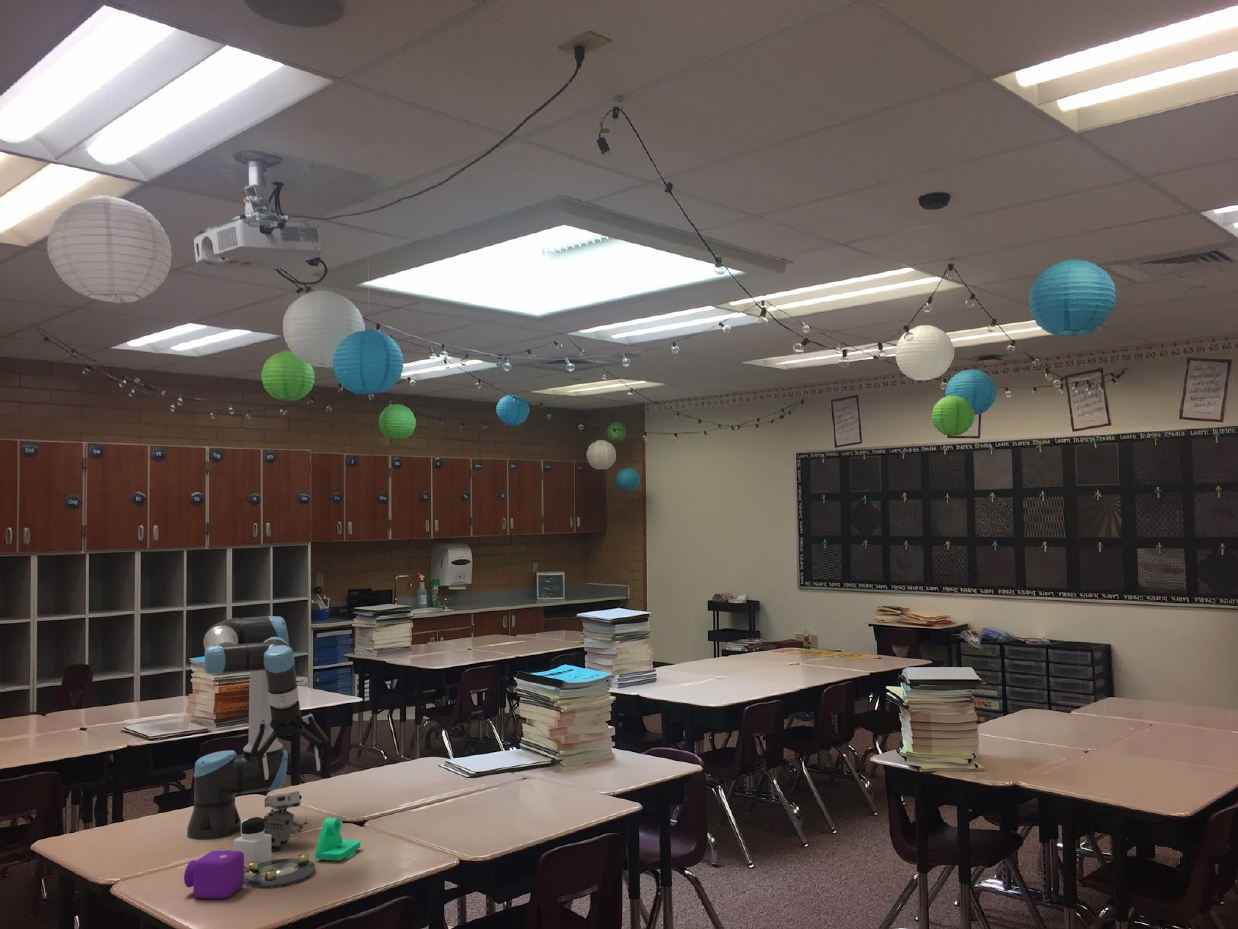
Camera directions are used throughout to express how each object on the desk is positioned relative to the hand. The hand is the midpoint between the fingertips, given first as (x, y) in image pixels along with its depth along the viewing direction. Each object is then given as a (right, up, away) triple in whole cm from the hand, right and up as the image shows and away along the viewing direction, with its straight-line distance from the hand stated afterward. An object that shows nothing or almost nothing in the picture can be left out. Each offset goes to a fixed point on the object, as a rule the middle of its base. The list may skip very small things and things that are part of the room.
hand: (293, 772), depth 263 cm
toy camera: (-12, -23, -23) cm, 35 cm away
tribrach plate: (0, -23, -11) cm, 26 cm away
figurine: (-7, -26, +13) cm, 30 cm away
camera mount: (+12, -25, +4) cm, 28 cm away
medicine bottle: (-11, -25, -1) cm, 27 cm away
